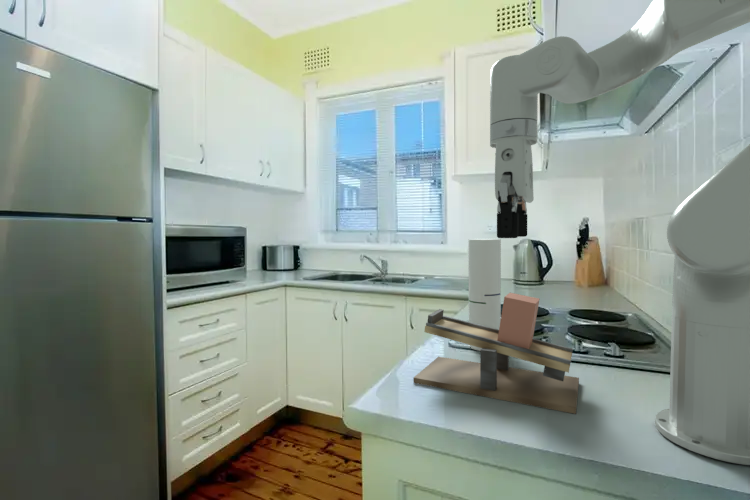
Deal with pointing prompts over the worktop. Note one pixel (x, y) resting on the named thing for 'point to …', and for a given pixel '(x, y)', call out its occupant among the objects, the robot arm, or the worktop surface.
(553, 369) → the beam
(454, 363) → the stand
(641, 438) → the worktop surface
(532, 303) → the block
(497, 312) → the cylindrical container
